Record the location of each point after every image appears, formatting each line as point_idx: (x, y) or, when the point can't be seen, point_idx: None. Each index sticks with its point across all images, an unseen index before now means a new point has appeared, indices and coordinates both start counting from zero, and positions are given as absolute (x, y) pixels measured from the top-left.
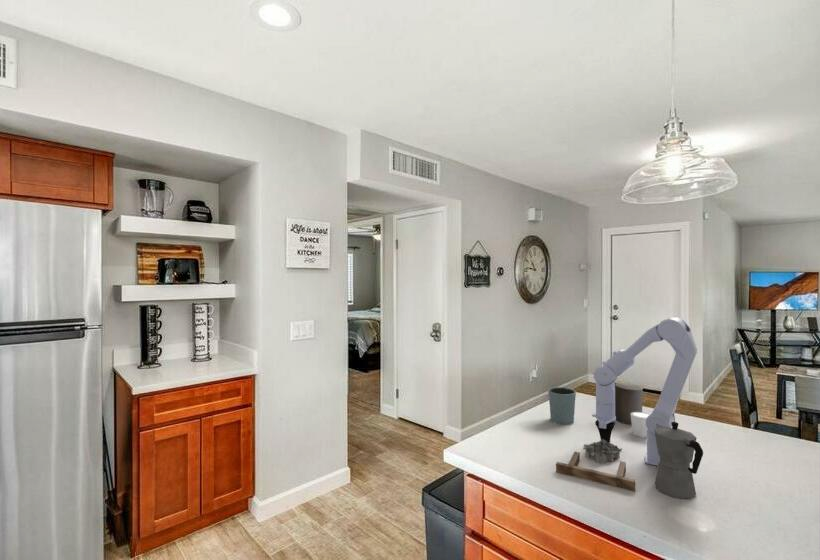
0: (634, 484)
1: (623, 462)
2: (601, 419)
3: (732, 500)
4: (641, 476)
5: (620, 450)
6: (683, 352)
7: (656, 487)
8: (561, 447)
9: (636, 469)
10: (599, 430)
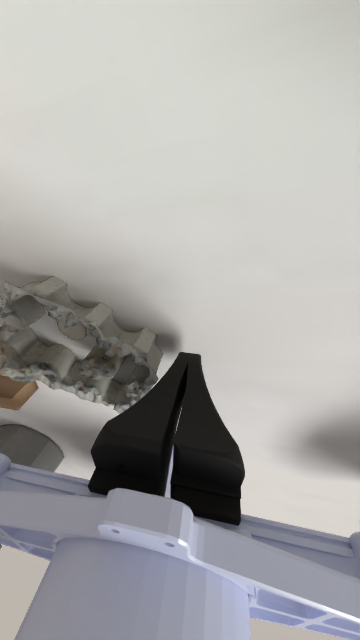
0: None
1: (10, 405)
2: (4, 533)
3: None
4: (39, 411)
5: (116, 408)
6: None
7: (11, 425)
8: (49, 119)
9: (71, 409)
10: (140, 402)
